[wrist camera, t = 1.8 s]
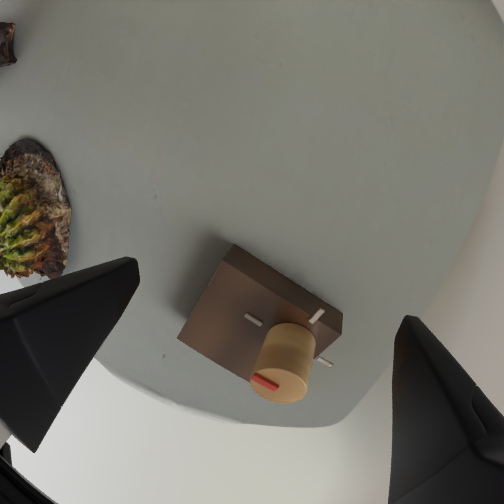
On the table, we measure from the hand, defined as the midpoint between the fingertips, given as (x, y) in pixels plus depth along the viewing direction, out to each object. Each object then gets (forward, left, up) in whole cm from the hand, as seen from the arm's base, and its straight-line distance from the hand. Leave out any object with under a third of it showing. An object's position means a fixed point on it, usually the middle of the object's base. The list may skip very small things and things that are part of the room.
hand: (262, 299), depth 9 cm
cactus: (+24, +17, -12) cm, 32 cm away
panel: (-3, +11, -12) cm, 17 cm away
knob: (-5, +9, -9) cm, 14 cm away
